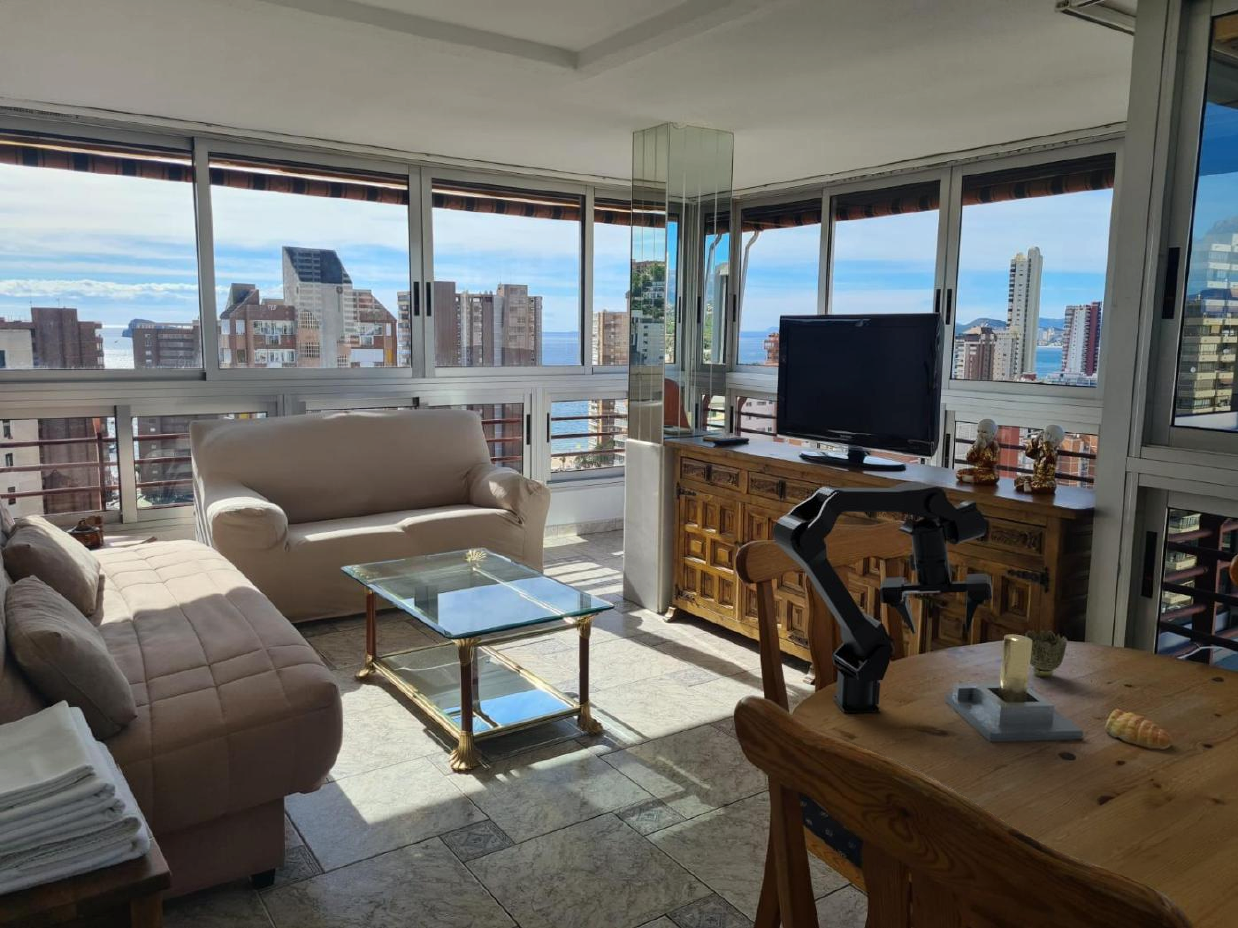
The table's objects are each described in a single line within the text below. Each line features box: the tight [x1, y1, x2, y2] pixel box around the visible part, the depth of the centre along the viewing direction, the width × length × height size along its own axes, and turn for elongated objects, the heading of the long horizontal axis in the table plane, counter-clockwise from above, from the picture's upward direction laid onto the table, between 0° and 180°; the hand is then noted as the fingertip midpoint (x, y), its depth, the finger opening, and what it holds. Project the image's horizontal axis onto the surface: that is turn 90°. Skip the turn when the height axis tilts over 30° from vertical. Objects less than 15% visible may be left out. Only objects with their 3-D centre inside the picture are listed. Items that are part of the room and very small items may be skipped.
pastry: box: [1104, 708, 1174, 750], centre depth 150 cm, size 9×7×4 cm
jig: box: [944, 682, 1084, 743], centre depth 156 cm, size 16×16×4 cm
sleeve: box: [998, 633, 1032, 703], centre depth 155 cm, size 4×4×13 cm
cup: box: [1024, 629, 1068, 679], centre depth 176 cm, size 8×7×8 cm
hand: (940, 632), depth 164 cm, fingers open, 9 cm apart
